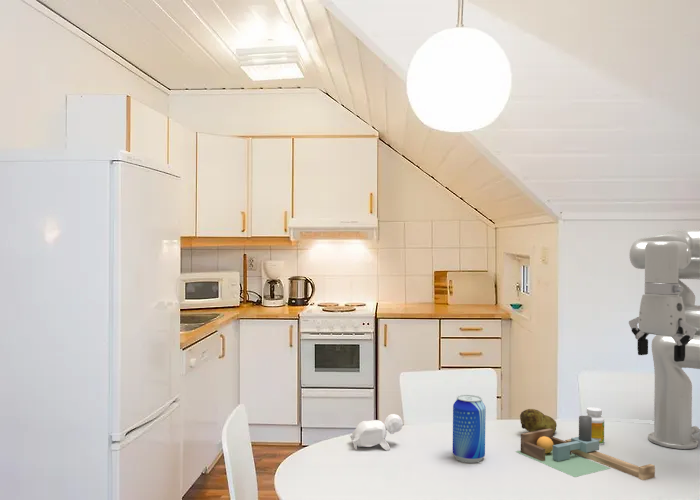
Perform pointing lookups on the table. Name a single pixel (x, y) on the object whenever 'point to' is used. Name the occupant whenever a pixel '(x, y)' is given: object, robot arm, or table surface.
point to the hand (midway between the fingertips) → (660, 357)
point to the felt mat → (571, 464)
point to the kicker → (577, 441)
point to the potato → (536, 421)
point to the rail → (619, 464)
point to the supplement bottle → (597, 424)
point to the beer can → (469, 428)
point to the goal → (531, 440)
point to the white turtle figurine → (376, 432)
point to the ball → (545, 444)
